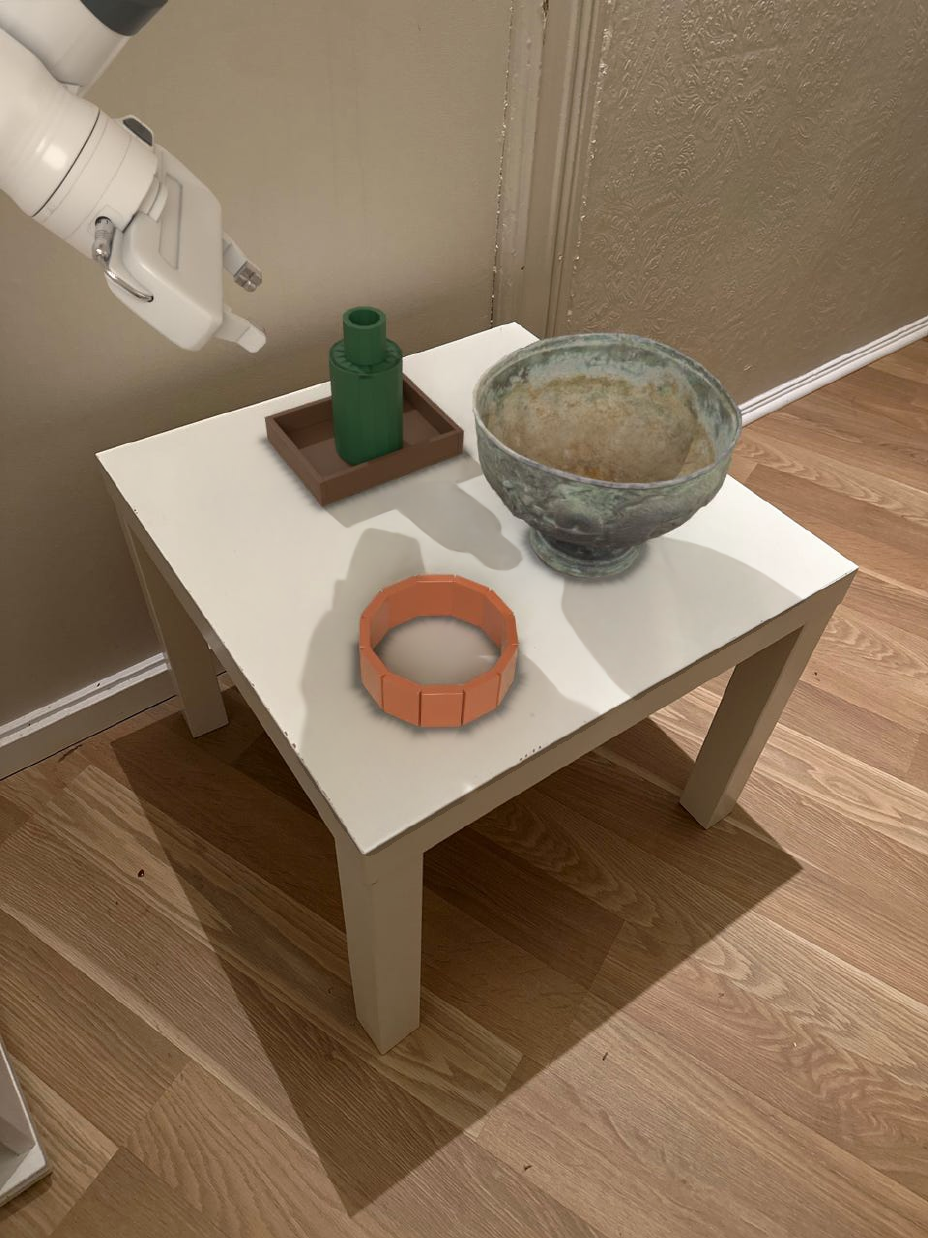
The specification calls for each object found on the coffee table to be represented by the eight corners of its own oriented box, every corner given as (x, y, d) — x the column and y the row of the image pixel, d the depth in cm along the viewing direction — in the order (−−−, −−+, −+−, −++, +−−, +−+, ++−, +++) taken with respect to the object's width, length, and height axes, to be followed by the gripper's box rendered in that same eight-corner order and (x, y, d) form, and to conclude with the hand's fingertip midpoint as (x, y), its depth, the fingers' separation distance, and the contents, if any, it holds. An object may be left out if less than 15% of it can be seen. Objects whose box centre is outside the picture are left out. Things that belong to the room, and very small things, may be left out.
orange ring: (360, 729, 64) (358, 696, 61) (362, 609, 72) (360, 575, 69) (519, 725, 65) (525, 692, 62) (505, 607, 73) (509, 573, 70)
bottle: (335, 468, 83) (324, 337, 72) (336, 426, 87) (326, 297, 77) (403, 467, 83) (403, 337, 73) (401, 426, 87) (401, 297, 77)
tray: (321, 506, 80) (319, 483, 78) (267, 440, 86) (264, 416, 84) (462, 453, 86) (464, 430, 84) (403, 394, 92) (402, 372, 90)
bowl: (428, 513, 80) (431, 366, 69) (597, 448, 87) (625, 306, 76) (559, 661, 69) (588, 516, 58) (738, 572, 77) (795, 429, 65)
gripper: (117, 225, 55) (291, 355, 64) (136, 106, 69) (278, 227, 78) (62, 296, 58) (237, 411, 67) (91, 168, 71) (233, 278, 80)
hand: (259, 311), depth 72 cm, fingers open, 8 cm apart
